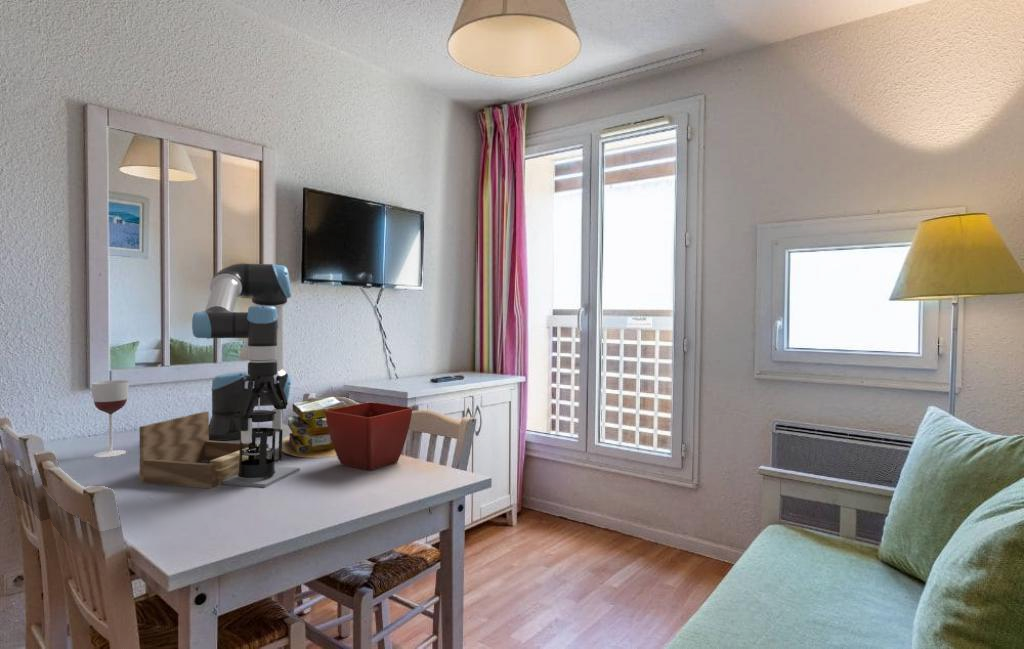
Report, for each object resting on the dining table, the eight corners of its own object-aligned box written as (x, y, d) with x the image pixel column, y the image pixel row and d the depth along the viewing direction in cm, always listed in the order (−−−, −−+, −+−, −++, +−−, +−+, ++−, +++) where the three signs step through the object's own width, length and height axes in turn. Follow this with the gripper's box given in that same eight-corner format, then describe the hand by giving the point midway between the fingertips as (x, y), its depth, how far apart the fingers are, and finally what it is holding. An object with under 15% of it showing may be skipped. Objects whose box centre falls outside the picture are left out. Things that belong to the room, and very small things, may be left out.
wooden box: (205, 459, 174) (205, 411, 174) (268, 464, 170) (268, 414, 169) (139, 482, 151) (139, 426, 150) (211, 488, 146) (211, 431, 146)
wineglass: (84, 455, 177) (84, 383, 176) (117, 448, 186) (117, 379, 186) (103, 458, 173) (103, 384, 173) (136, 451, 183) (135, 381, 182)
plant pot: (368, 476, 159) (368, 416, 158) (323, 465, 169) (323, 410, 168) (413, 461, 175) (414, 407, 174) (370, 452, 185) (370, 401, 185)
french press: (241, 480, 147) (244, 392, 147) (230, 473, 154) (233, 389, 154) (286, 473, 155) (289, 390, 156) (274, 467, 162) (276, 387, 162)
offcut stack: (245, 466, 168) (245, 446, 167) (259, 467, 167) (260, 447, 167) (203, 485, 149) (203, 463, 149) (220, 486, 149) (220, 463, 149)
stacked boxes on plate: (362, 453, 184) (362, 403, 183) (280, 461, 173) (280, 407, 173) (350, 438, 206) (351, 392, 206) (277, 443, 196) (278, 396, 195)
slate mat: (260, 467, 166) (260, 464, 166) (299, 470, 163) (299, 467, 163) (221, 483, 150) (221, 480, 150) (265, 487, 147) (265, 484, 147)
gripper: (277, 357, 169) (277, 427, 169) (219, 364, 144) (219, 446, 145) (300, 357, 167) (300, 428, 168) (244, 365, 143) (244, 448, 144)
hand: (262, 437), depth 156 cm, fingers open, 13 cm apart
